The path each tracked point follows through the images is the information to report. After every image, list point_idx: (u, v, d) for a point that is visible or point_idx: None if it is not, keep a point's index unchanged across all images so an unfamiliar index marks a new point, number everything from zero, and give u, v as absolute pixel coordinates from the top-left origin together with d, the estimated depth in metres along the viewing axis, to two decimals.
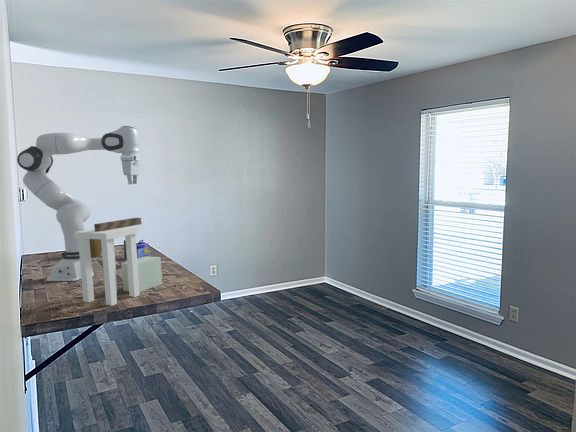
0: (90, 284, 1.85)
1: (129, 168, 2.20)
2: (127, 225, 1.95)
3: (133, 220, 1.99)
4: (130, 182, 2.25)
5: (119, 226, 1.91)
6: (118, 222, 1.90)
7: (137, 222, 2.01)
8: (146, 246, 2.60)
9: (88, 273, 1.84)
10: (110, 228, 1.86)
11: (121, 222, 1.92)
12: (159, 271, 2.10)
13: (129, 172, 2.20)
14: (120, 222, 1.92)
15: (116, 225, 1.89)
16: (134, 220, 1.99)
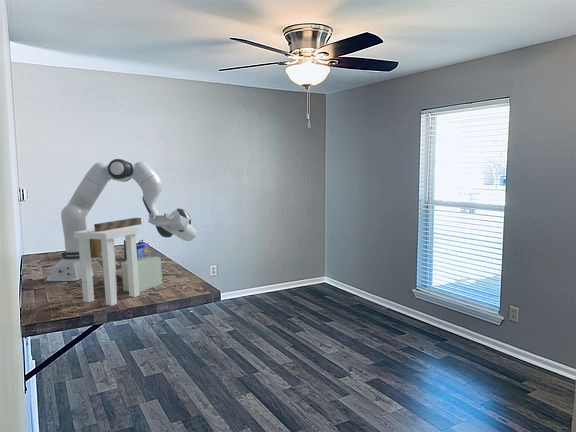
0: (90, 284, 1.85)
1: (182, 223, 2.17)
2: (127, 225, 1.95)
3: (133, 220, 1.99)
4: (167, 216, 2.14)
5: (119, 226, 1.91)
6: (118, 222, 1.90)
7: (137, 222, 2.01)
8: (146, 246, 2.60)
9: (88, 273, 1.84)
10: (110, 228, 1.86)
11: (121, 222, 1.92)
12: (159, 271, 2.10)
13: (180, 221, 2.16)
14: (120, 222, 1.92)
15: (116, 225, 1.89)
16: (134, 220, 1.99)
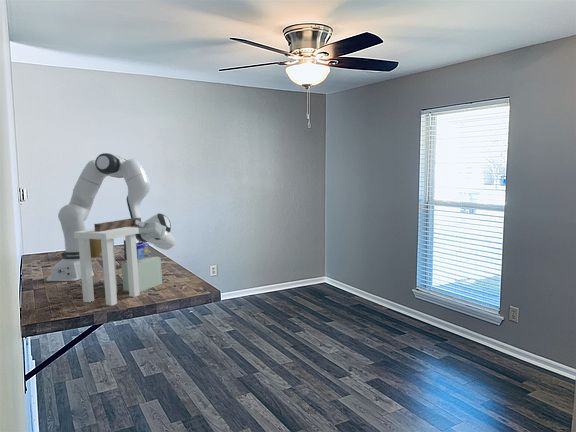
0: (90, 284, 1.85)
1: (158, 231, 2.01)
2: (127, 225, 1.95)
3: (133, 220, 1.99)
4: (137, 222, 1.99)
5: (119, 226, 1.91)
6: (118, 222, 1.90)
7: None
8: (146, 246, 2.60)
9: (88, 273, 1.84)
10: (110, 228, 1.86)
11: (121, 222, 1.92)
12: (159, 271, 2.10)
13: (156, 229, 2.00)
14: (120, 222, 1.92)
15: (116, 225, 1.89)
16: None
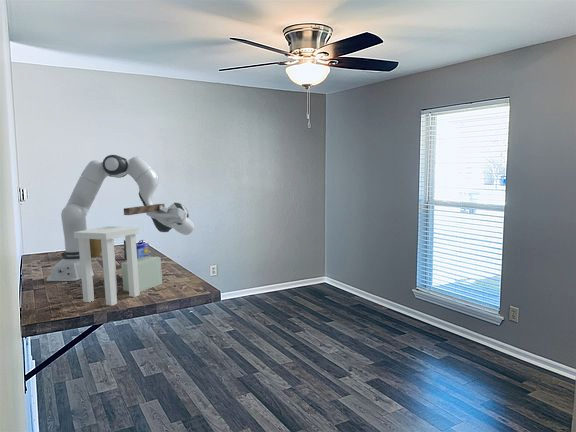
0: (90, 284, 1.85)
1: (180, 216, 2.16)
2: (152, 210, 2.10)
3: (157, 206, 2.13)
4: (161, 208, 2.13)
5: (145, 211, 2.06)
6: (144, 207, 2.05)
7: None
8: (146, 246, 2.60)
9: (88, 273, 1.84)
10: (138, 212, 2.01)
11: (147, 207, 2.07)
12: (159, 271, 2.10)
13: (178, 214, 2.14)
14: (146, 207, 2.06)
15: (143, 210, 2.04)
16: None
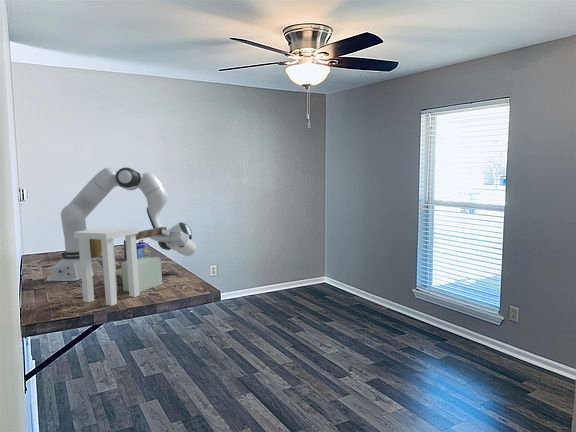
0: (90, 284, 1.85)
1: (182, 239, 2.18)
2: (154, 234, 2.11)
3: (159, 229, 2.15)
4: (163, 231, 2.15)
5: (148, 235, 2.07)
6: (147, 232, 2.07)
7: None
8: (146, 246, 2.60)
9: (88, 273, 1.84)
10: (140, 237, 2.03)
11: (149, 232, 2.08)
12: (159, 271, 2.10)
13: (180, 237, 2.16)
14: (148, 232, 2.08)
15: (145, 235, 2.06)
16: (160, 229, 2.15)
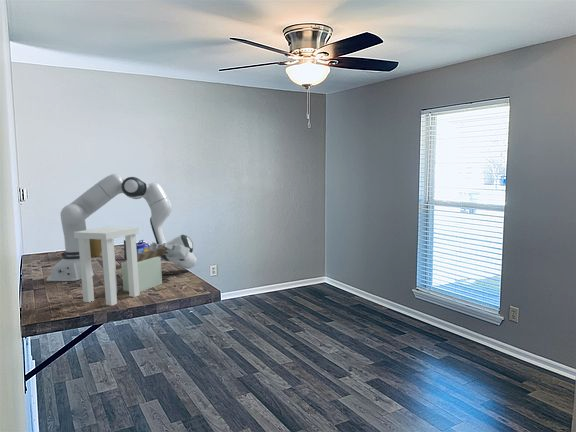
0: (90, 284, 1.85)
1: (183, 253, 2.18)
2: (156, 255, 2.13)
3: (161, 250, 2.16)
4: (166, 245, 2.15)
5: (149, 257, 2.08)
6: (148, 253, 2.08)
7: (164, 252, 2.18)
8: (146, 246, 2.60)
9: (88, 273, 1.84)
10: (141, 259, 2.04)
11: (151, 253, 2.09)
12: (159, 271, 2.10)
13: (181, 251, 2.17)
14: (150, 253, 2.09)
15: (146, 256, 2.07)
16: (162, 250, 2.16)
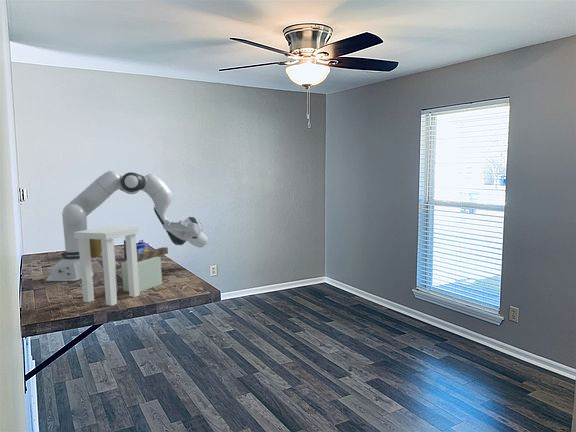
0: (90, 284, 1.85)
1: (196, 230, 2.28)
2: (156, 255, 2.13)
3: (161, 250, 2.16)
4: (182, 223, 2.24)
5: (149, 257, 2.08)
6: (148, 253, 2.08)
7: (164, 252, 2.18)
8: (146, 246, 2.60)
9: (88, 273, 1.84)
10: (141, 259, 2.04)
11: (151, 253, 2.09)
12: (159, 271, 2.10)
13: (194, 229, 2.26)
14: (150, 253, 2.09)
15: (146, 256, 2.07)
16: (162, 250, 2.16)
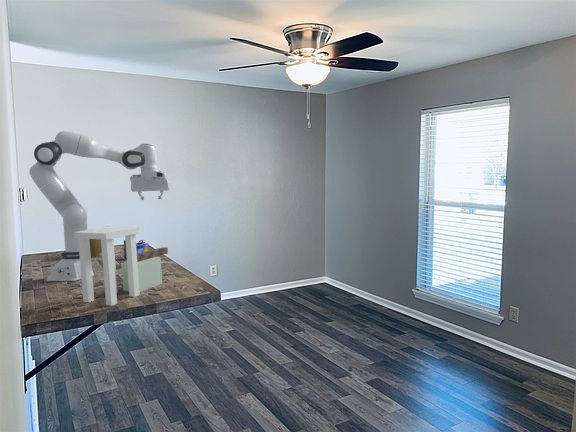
0: (90, 284, 1.85)
1: None
2: (156, 255, 2.13)
3: (161, 250, 2.16)
4: (161, 197, 2.40)
5: (149, 257, 2.08)
6: (148, 253, 2.08)
7: (164, 252, 2.18)
8: (146, 246, 2.60)
9: (88, 273, 1.84)
10: (141, 259, 2.04)
11: (151, 253, 2.09)
12: (159, 271, 2.10)
13: (169, 187, 2.41)
14: (150, 253, 2.09)
15: (146, 256, 2.07)
16: (162, 250, 2.16)
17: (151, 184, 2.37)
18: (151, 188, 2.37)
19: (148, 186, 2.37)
